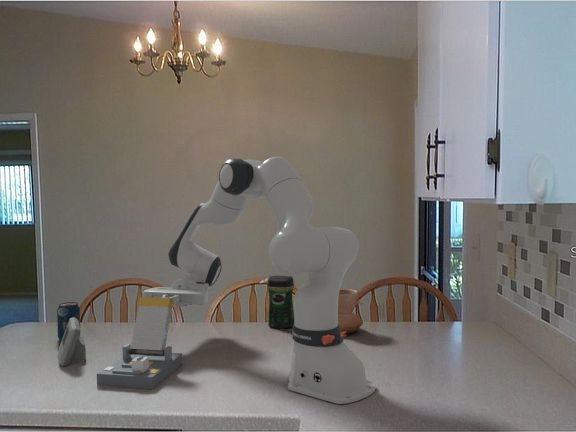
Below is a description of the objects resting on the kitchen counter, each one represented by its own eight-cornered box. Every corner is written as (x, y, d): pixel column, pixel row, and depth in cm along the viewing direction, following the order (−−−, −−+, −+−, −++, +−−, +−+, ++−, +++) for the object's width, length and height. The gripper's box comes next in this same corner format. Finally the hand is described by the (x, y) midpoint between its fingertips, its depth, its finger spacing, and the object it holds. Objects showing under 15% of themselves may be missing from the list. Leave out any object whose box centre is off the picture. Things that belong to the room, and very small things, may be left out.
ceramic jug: (367, 327, 167) (366, 288, 167) (361, 338, 154) (360, 295, 154) (319, 325, 173) (318, 286, 173) (308, 335, 159) (307, 293, 159)
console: (133, 361, 134) (133, 338, 134) (182, 363, 132) (181, 341, 131) (96, 385, 117) (96, 359, 116) (152, 389, 114) (152, 363, 114)
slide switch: (137, 368, 120) (137, 354, 120) (148, 368, 119) (148, 355, 119) (132, 372, 117) (131, 358, 117) (143, 373, 116) (142, 359, 116)
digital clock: (60, 351, 144) (59, 317, 144) (91, 348, 147) (90, 315, 146) (47, 369, 129) (46, 331, 128) (83, 366, 131) (82, 328, 131)
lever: (132, 355, 129) (142, 299, 135) (165, 356, 127) (175, 300, 133) (127, 353, 126) (138, 297, 132) (161, 355, 124) (171, 298, 131)
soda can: (65, 343, 152) (64, 307, 152) (53, 340, 156) (52, 304, 155) (84, 337, 158) (84, 302, 158) (72, 335, 162) (71, 300, 161)
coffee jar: (296, 324, 173) (296, 274, 173) (291, 329, 166) (290, 277, 165) (271, 322, 176) (271, 273, 175) (265, 328, 168) (264, 277, 168)
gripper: (154, 281, 154) (132, 289, 140) (213, 283, 150) (197, 292, 136) (154, 300, 154) (133, 310, 140) (213, 302, 150) (197, 313, 136)
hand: (165, 301), depth 138 cm, fingers closed
